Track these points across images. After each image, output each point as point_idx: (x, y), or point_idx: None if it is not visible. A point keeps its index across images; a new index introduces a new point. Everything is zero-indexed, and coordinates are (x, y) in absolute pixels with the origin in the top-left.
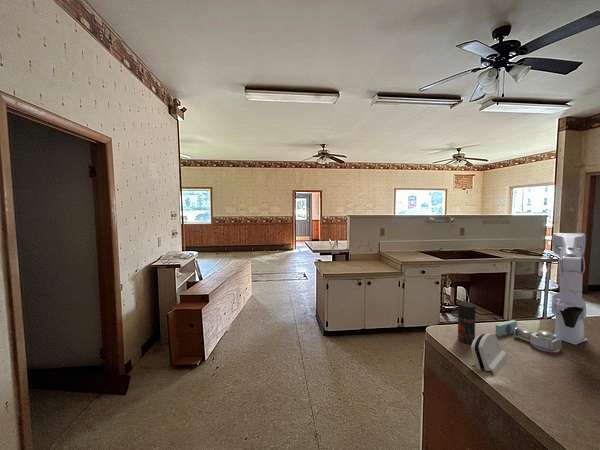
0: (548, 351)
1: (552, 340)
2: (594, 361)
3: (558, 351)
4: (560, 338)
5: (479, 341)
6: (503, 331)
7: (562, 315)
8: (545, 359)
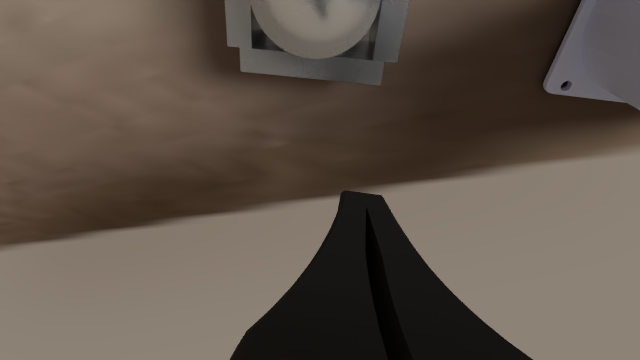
0: None
1: (269, 58)
2: None
3: None
4: (378, 80)
5: None
6: None
7: (307, 267)
8: (124, 52)
